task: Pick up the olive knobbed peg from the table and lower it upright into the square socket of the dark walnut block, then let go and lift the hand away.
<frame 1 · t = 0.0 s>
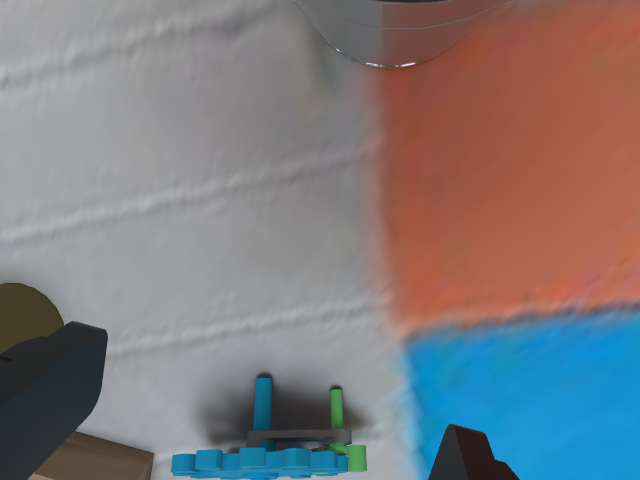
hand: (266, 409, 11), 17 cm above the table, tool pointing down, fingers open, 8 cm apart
olive knobbed peg: (23, 324, 32), on the table
gear: (282, 421, 32), on the table
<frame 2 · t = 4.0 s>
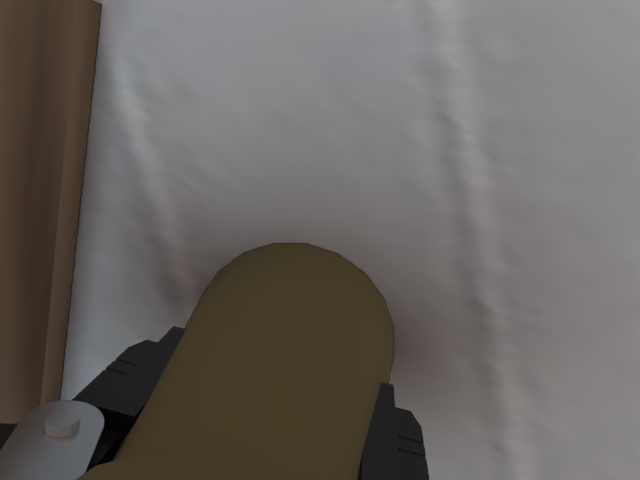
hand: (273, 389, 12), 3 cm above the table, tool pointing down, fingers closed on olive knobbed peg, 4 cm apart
olive knobbed peg: (294, 336, 15), on the table, touching gripper
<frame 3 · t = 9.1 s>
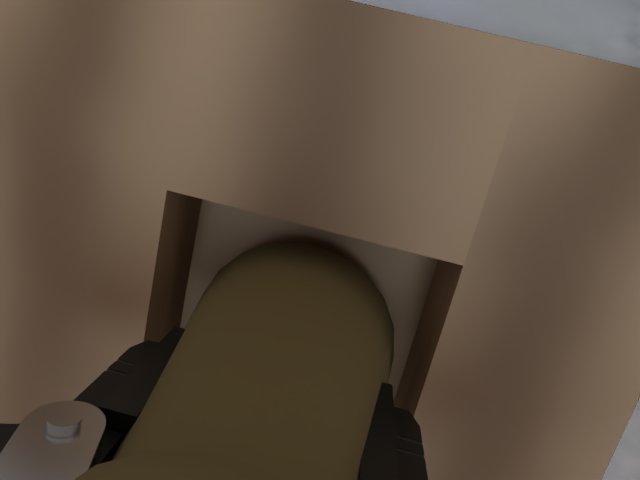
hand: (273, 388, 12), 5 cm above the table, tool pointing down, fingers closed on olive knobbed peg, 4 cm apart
socket block: (301, 306, 17), on the table
olive knobbed peg: (294, 336, 15), point 2 cm above the table, touching gripper
when the fingers open (5 cm above the table, at t = 9.3 s): olive knobbed peg drops 1 cm, resting on socket block.
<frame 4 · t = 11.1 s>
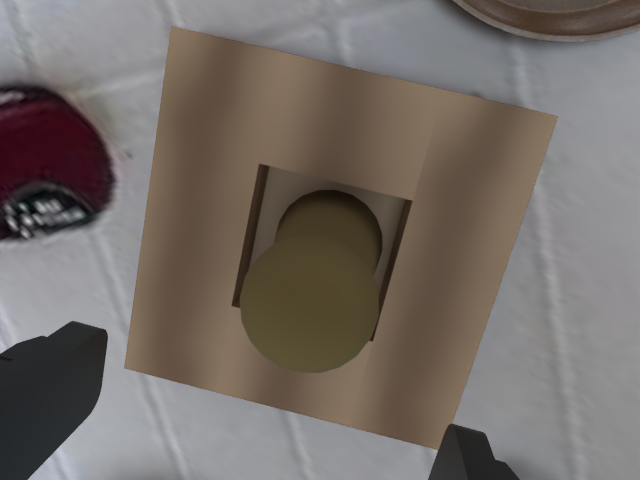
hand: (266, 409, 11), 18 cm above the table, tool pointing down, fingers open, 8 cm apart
socket block: (324, 237, 28), on the table
olive knobbed peg: (328, 242, 27), point 1 cm above the table, touching socket block
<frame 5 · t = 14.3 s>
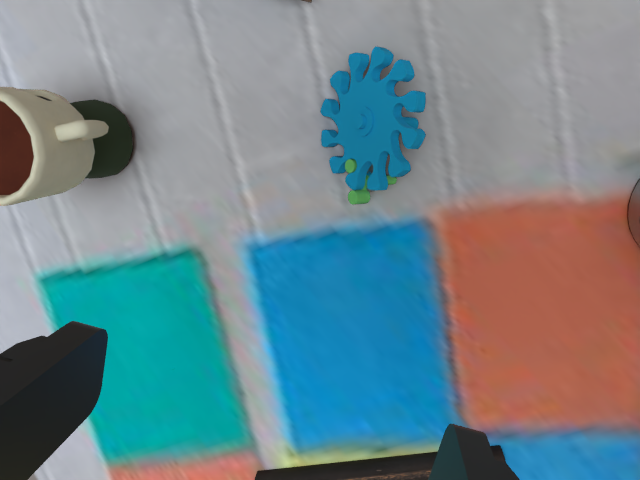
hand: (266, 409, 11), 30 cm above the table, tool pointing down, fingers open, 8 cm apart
character mug: (103, 139, 41), on the table
gear: (368, 128, 39), on the table
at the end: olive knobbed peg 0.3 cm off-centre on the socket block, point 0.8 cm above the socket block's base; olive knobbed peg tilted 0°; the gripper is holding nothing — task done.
